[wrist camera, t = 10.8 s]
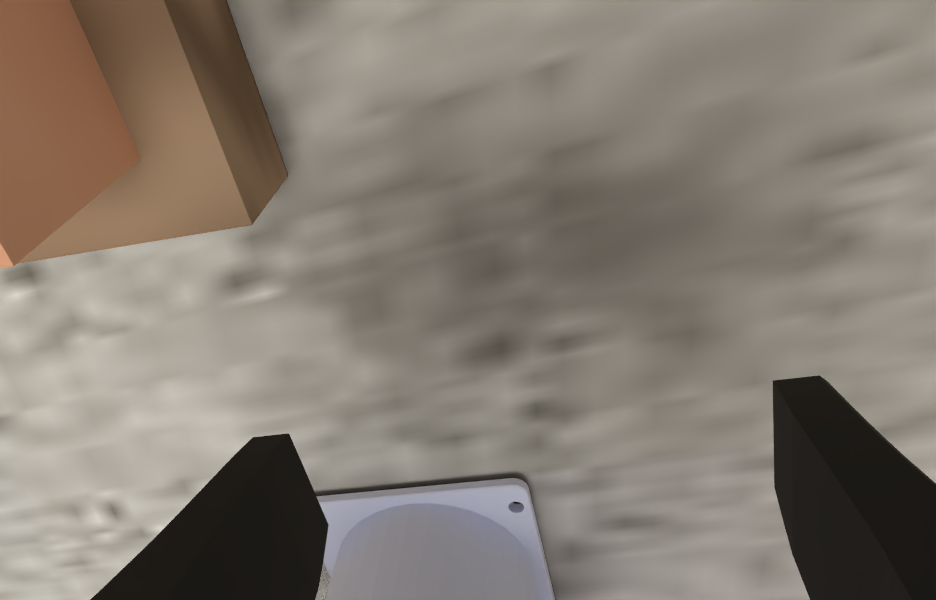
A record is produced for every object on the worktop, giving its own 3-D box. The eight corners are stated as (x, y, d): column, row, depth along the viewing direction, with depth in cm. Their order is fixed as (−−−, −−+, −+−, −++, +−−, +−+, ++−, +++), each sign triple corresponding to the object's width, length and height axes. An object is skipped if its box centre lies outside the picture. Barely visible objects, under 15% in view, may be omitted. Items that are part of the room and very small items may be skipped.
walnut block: (288, 175, 21) (251, 224, 18) (-1, 226, 23) (-70, 277, 20) (149, -217, 16) (76, -223, 14) (-199, -118, 18) (-320, -107, 16)
